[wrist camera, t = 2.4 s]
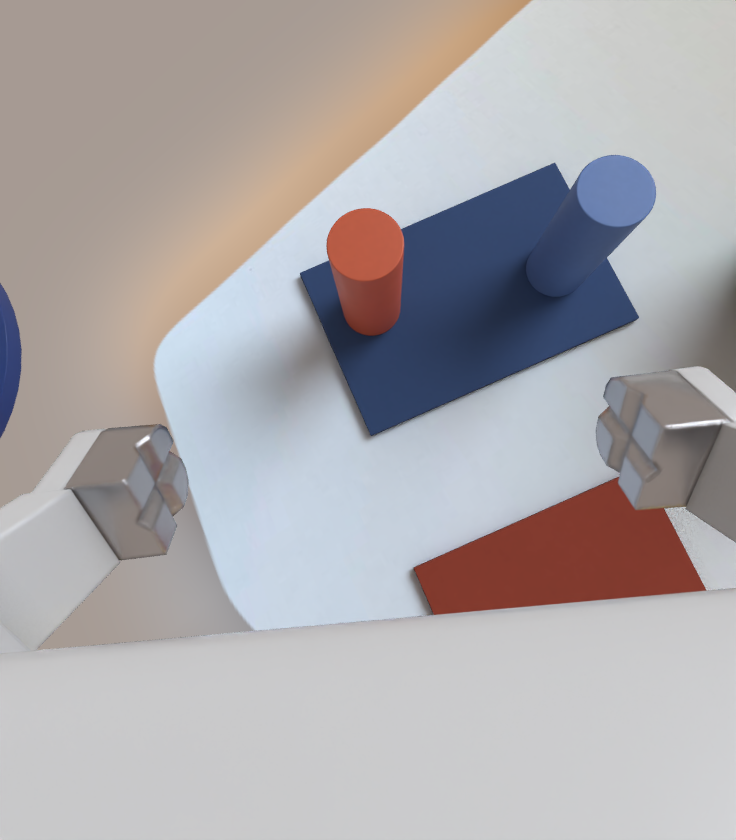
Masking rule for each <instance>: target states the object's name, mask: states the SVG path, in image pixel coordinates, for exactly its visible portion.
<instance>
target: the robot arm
mask: <svg viewBox="0 0 736 840" xmlns="http://www.w3.org/2000/svg"><path fill="white" fill-rule="evenodd" d="M603 397H604V399H605V400H606V402H607V403H608V405H609V407H608V408H607V409H606V410H605V411H604V412H603V413H602V414H601V415H600V416H599V417H598V422H597V427H596V441H597V447H598V450H599V453H600V455H601V457H602V459H603V460H604V462H605V464H606V465H607V466H609V467H610V468H612V469H614V470H616V471H618V472H620V476H619V479H618V484H619V486H620V487H621V489H622V490H623V492H624V493H625V495H626V497H627V498H628V500H629V501H630V503H631V504H632V506H633V507H634V509H635V510H644V509H658V508H673V507H686V508H685V509H686V510H688V511H689V512H691V513H692V514H694V515H695V516H697V517H698V518H700V519H701V520H703V521H704V522H706V523H707V524H709V525H710V526H712V527H713V528H715V529H716V530H718V531H719V532H721V533H722V534H724V535H725V536H727V537H728V538H730V539H731V540H733V541H734V542H736V393H735V392H734V391H733V390H732V389H731V388H729V387H728V386H727V385H726V384H725V383H724V382H722V381H721V380H720V379H719V378H718V377H717V376H715V375H714V374H713V373H712V372H711V371H710V370H708V369H706V368H703V367H700V366H695V367H688V368H681V369H673V370H669V371H663V372H654V373H646V374H637V375H628V376H620V377H611V378H610V380H609V382H608V383H607V385H606V388H605V392H604V396H603ZM172 444H173V439H172V437H171V435H170V433H169V431H168V429H167V428H166V427H164V426H162V425H161V424H155V425H144V426H131V427H119V428H108V429H97V430H88V431H82V432H79V433H76V434H74V435H73V437H72V438H71V439H70V441H69V442H68V444H67V445H66V446H65V448H64V449H63V450H62V452H61V453H60V455H59V456H58V457H57V459H56V460H55V461H54V463H53V464H52V465H51V467H50V468H49V470H48V471H47V472H46V473H45V475H44V476H43V478H42V479H41V480H40V482H39V483H38V484H37V486H36V487H35V489H34V490H33V491H32V493H28V494H22V495H20V496H18V497H17V498H15V499H14V500H12V501H10V502H9V503H7V504H6V505H4V506H3V507H1V508H0V840H736V588H729V589H718V590H707V591H696V592H684V593H673V594H662V595H651V596H640V597H629V598H618V599H607V600H595V601H584V602H573V603H562V604H551V605H540V606H529V607H518V608H507V609H495V610H484V611H473V612H462V613H450V614H439V615H428V616H417V617H405V618H394V619H383V620H371V621H360V622H349V623H338V624H326V625H315V626H304V627H292V628H281V629H270V630H259V631H248V632H237V633H226V634H214V635H203V636H193V637H192V636H191V637H180V638H170V639H159V640H147V641H135V642H124V643H114V644H102V645H91V646H80V647H68V648H57V649H47V650H37V649H38V648H39V647H40V646H41V645H42V644H43V643H44V642H45V641H46V640H47V639H48V637H49V636H50V635H51V634H52V633H53V632H54V631H55V630H56V629H57V628H58V627H59V626H60V625H61V624H62V623H63V622H64V621H65V620H66V619H67V618H68V617H69V616H70V614H72V612H73V611H74V610H75V609H76V608H77V607H78V606H79V605H80V604H81V603H82V602H83V601H84V600H85V599H86V598H87V597H88V596H89V595H90V594H91V593H92V592H93V591H94V590H95V589H96V588H97V586H98V585H99V584H100V583H101V582H102V581H103V580H104V579H105V578H106V577H107V576H108V575H109V574H110V573H111V572H112V571H113V570H114V569H115V568H116V567H117V566H118V565H119V564H120V561H119V560H127V559H136V558H144V557H152V556H160V555H166V554H167V551H168V549H169V546H170V543H171V541H172V538H173V535H174V533H175V530H176V527H177V524H176V522H175V520H174V518H173V516H174V515H175V514H176V513H177V512H179V511H180V510H181V509H182V508H183V507H184V505H185V502H186V499H187V496H188V476H187V471H186V468H185V466H184V463H183V461H182V459H181V458H179V457H178V456H176V455H175V454H173V453H172V452H170V449H171V446H172Z"/></svg>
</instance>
